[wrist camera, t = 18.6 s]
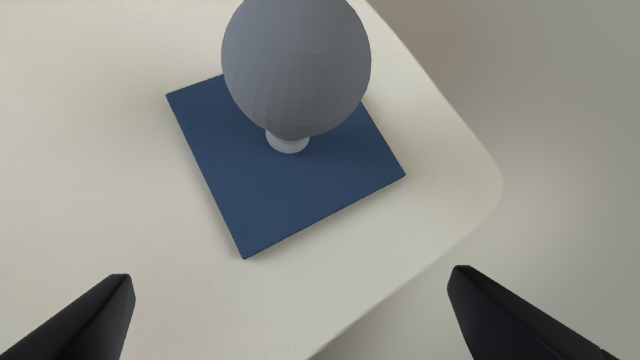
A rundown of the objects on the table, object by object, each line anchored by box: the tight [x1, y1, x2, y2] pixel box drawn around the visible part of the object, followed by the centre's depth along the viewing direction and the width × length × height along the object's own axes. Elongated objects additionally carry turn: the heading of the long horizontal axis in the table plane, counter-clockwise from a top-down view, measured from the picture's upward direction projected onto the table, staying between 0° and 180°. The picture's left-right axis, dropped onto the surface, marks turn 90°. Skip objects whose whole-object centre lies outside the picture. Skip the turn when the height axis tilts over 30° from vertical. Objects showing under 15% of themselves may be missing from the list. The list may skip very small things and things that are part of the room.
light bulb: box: [221, 0, 371, 154], centre depth 15 cm, size 6×6×10 cm
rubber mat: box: [166, 74, 406, 260], centre depth 20 cm, size 11×11×1 cm
